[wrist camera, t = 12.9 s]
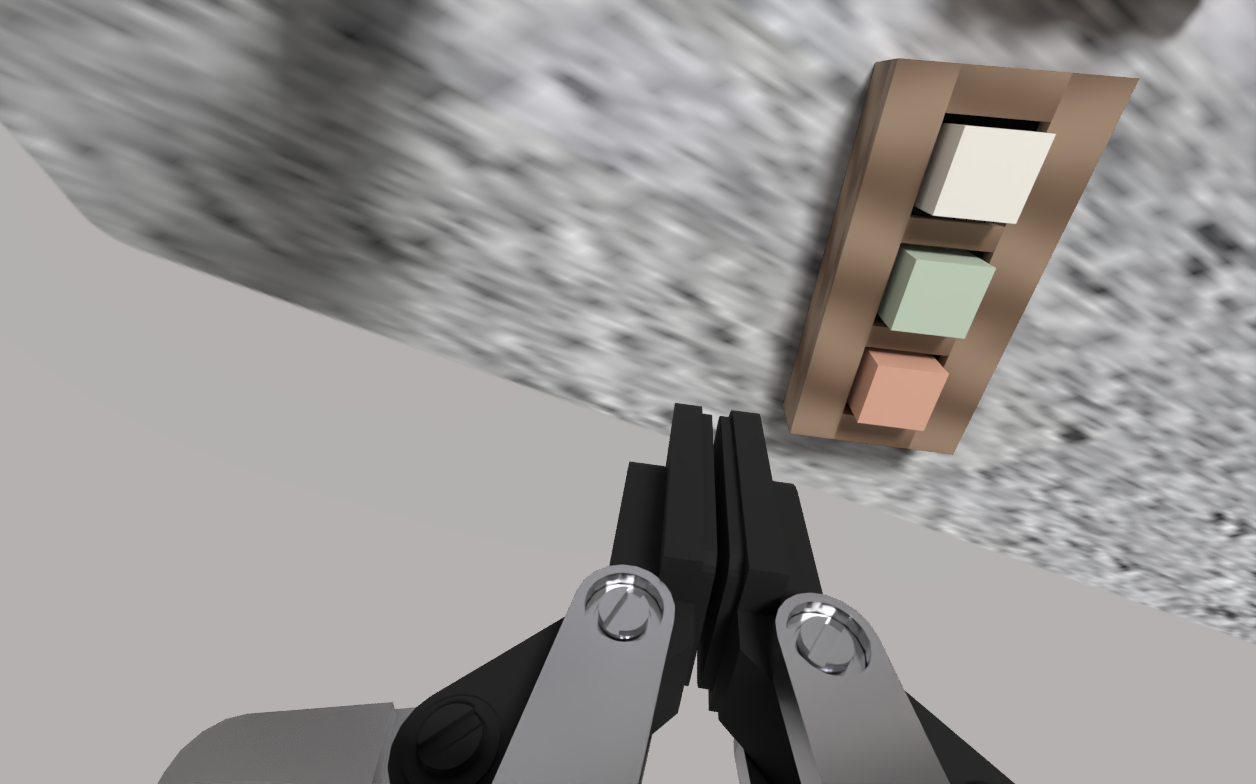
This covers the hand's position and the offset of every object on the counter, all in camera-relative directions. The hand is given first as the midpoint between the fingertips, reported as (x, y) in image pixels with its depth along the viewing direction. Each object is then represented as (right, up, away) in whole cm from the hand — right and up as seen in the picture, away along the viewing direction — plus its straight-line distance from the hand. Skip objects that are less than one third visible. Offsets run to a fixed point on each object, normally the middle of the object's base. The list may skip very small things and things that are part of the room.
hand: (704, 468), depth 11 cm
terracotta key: (+17, +3, +28) cm, 33 cm away
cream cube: (+18, +15, +21) cm, 31 cm away
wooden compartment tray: (+18, +10, +26) cm, 33 cm away
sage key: (+18, +9, +24) cm, 31 cm away
